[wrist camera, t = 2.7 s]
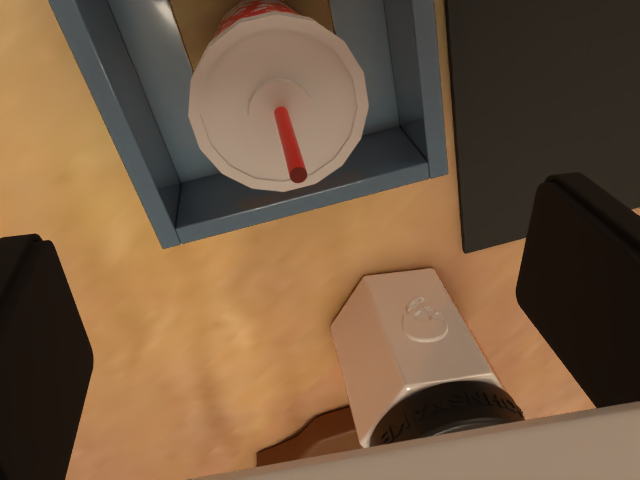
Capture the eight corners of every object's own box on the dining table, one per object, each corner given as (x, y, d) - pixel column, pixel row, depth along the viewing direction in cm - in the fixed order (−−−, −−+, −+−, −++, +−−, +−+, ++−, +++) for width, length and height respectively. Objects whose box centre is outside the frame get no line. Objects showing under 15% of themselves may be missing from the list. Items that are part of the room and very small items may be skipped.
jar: (465, 259, 34) (565, 407, 24) (452, 351, 39) (532, 508, 29) (328, 275, 33) (374, 436, 23) (330, 368, 38) (370, 537, 28)
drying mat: (747, -201, 23) (755, -203, 23) (673, 194, 34) (678, 197, 34) (435, -121, 23) (438, -122, 23) (462, 250, 34) (465, 254, 34)
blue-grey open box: (383, -149, 22) (421, -159, 18) (416, 135, 29) (448, 174, 25) (58, -66, 22) (20, -57, 18) (170, 199, 29) (162, 250, 25)
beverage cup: (189, -21, 24) (158, 59, 12) (326, -24, 24) (424, 48, 13) (205, 114, 27) (193, 280, 15) (326, 108, 28) (402, 261, 16)
